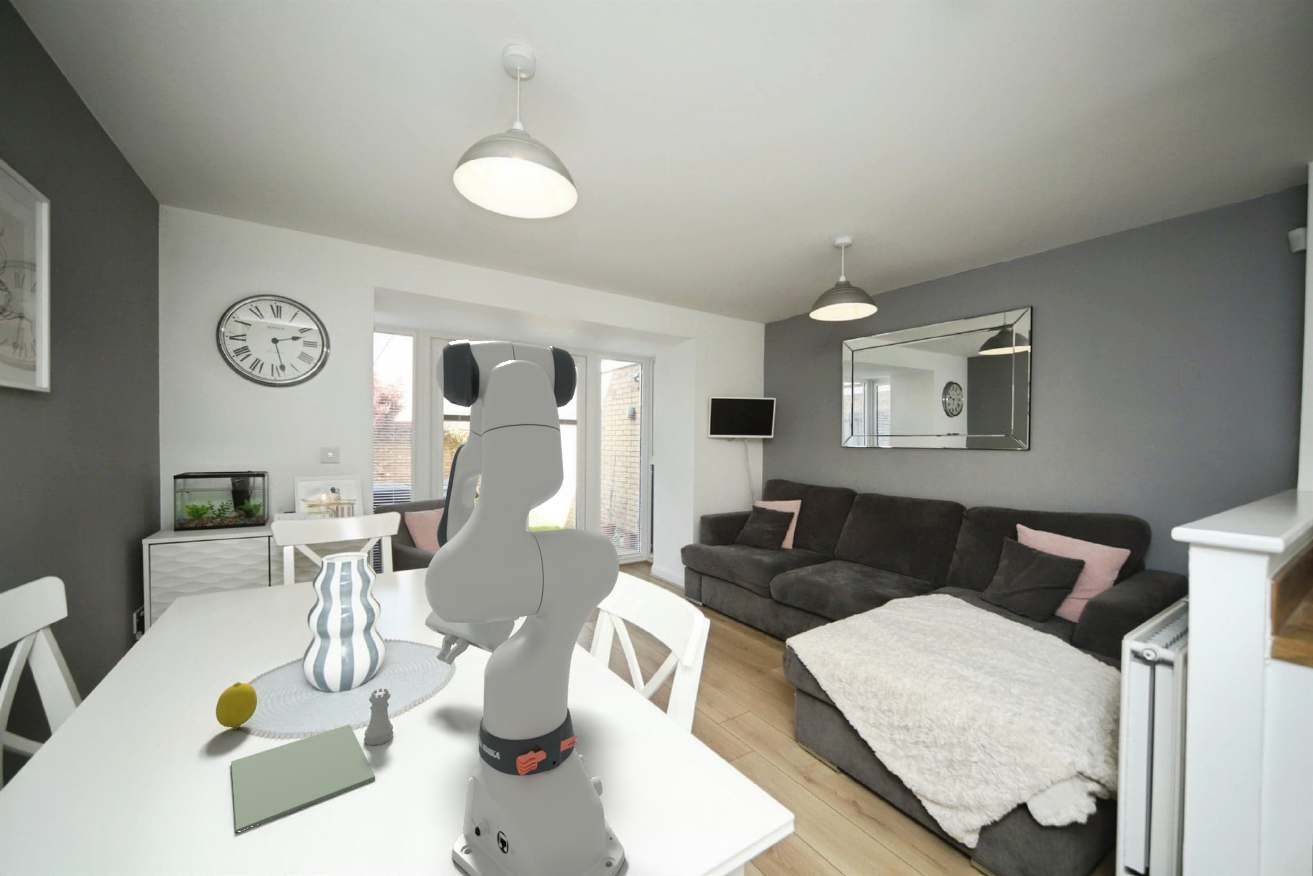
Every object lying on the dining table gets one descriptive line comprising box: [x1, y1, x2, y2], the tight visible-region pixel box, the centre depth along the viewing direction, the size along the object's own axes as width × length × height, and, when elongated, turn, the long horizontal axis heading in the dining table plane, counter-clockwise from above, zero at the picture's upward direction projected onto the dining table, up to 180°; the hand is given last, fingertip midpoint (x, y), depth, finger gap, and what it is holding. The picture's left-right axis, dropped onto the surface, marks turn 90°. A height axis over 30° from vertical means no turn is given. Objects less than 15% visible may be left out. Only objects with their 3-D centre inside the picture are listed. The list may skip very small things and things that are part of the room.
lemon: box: [215, 681, 258, 730], centre depth 87 cm, size 6×6×8 cm
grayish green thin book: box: [230, 724, 376, 833], centre depth 76 cm, size 18×16×1 cm
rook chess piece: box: [363, 687, 394, 746], centre depth 85 cm, size 4×4×8 cm
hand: (443, 661), depth 96 cm, fingers closed
